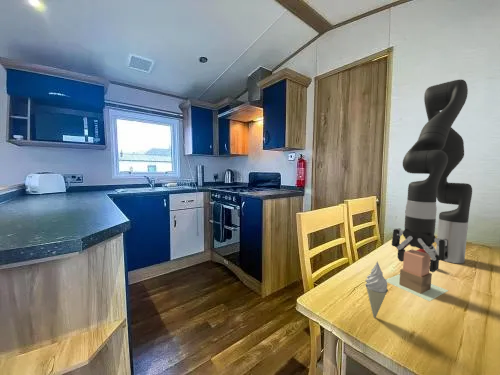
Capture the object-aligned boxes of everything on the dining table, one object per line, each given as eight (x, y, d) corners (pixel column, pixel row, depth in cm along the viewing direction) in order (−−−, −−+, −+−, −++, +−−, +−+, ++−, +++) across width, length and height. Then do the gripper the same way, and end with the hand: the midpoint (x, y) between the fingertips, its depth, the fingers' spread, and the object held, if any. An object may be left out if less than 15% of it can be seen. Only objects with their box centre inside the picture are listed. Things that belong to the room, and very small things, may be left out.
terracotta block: (411, 266, 72) (412, 249, 72) (429, 273, 68) (430, 254, 68) (402, 270, 70) (404, 251, 70) (420, 276, 66) (422, 257, 65)
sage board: (402, 275, 79) (402, 272, 79) (448, 294, 68) (448, 290, 67) (383, 283, 73) (383, 280, 73) (429, 305, 62) (429, 301, 62)
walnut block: (409, 280, 73) (410, 266, 73) (430, 289, 68) (431, 273, 68) (399, 284, 71) (400, 269, 70) (420, 293, 65) (422, 277, 65)
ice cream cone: (359, 311, 59) (362, 257, 58) (377, 310, 59) (380, 257, 58) (371, 324, 54) (375, 265, 53) (390, 323, 54) (394, 265, 53)
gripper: (455, 218, 63) (450, 272, 64) (401, 210, 76) (398, 255, 77) (443, 221, 59) (438, 278, 61) (389, 212, 72) (386, 259, 73)
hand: (416, 265), depth 69 cm, fingers open, 8 cm apart
